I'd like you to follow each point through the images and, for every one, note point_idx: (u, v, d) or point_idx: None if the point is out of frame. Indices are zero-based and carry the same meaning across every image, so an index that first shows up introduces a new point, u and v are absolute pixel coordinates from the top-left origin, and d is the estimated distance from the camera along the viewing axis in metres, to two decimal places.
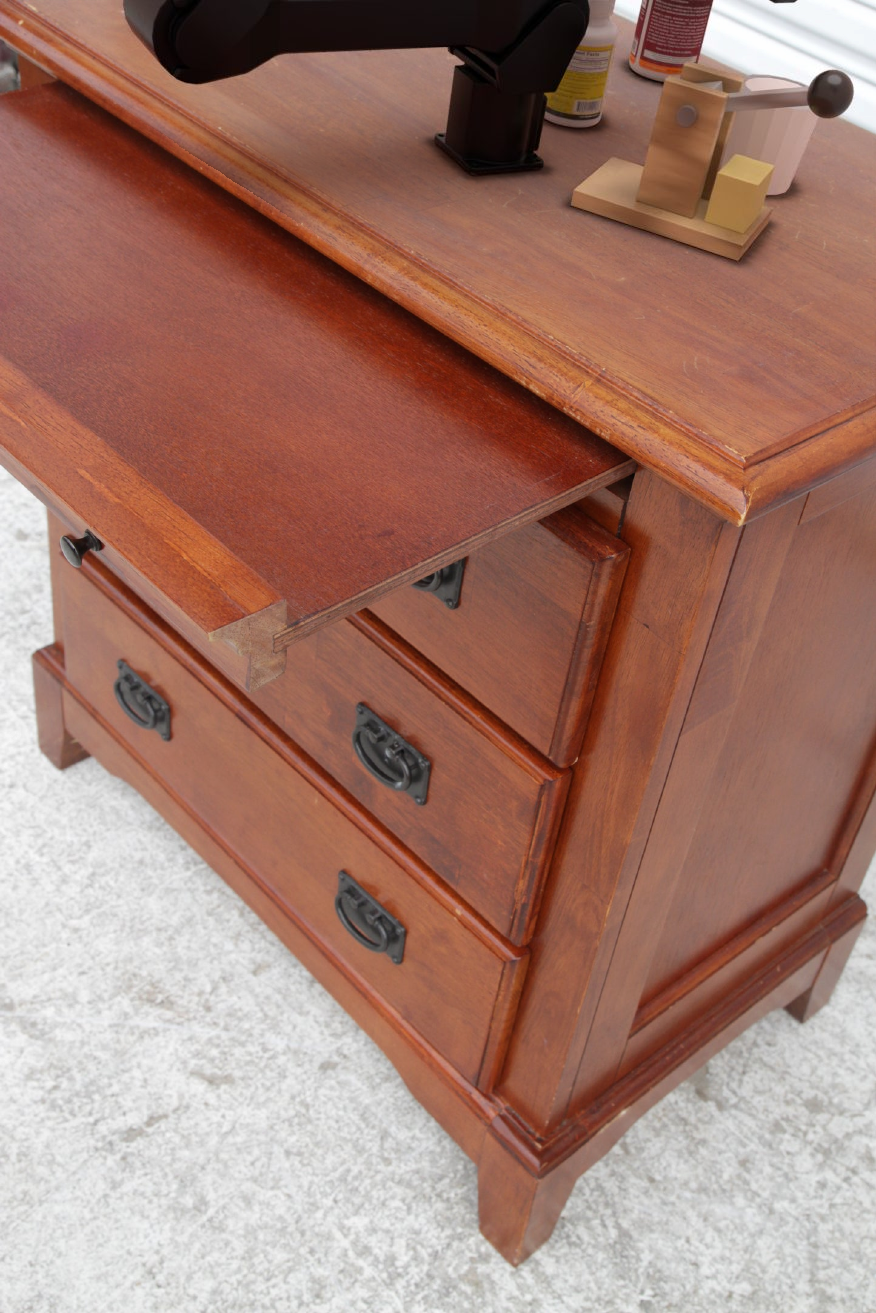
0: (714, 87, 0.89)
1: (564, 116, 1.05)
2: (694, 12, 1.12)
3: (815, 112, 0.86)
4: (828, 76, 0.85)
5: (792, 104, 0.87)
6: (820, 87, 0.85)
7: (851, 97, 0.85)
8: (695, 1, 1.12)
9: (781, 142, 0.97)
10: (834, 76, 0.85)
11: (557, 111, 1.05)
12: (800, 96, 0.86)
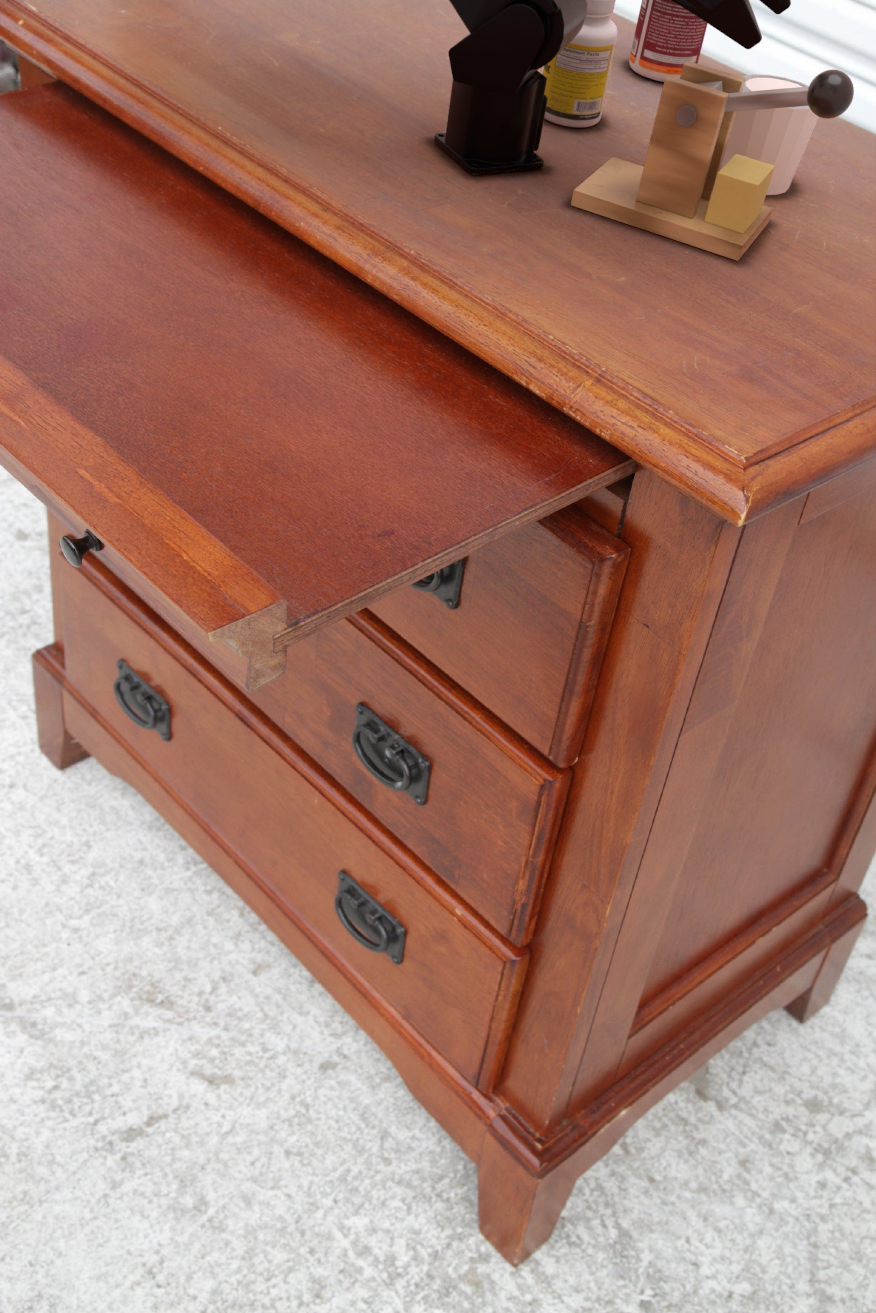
0: (714, 87, 0.89)
1: (564, 116, 1.05)
2: None
3: (815, 112, 0.86)
4: (828, 76, 0.85)
5: (792, 104, 0.87)
6: (820, 87, 0.85)
7: (851, 97, 0.85)
8: None
9: (781, 142, 0.97)
10: (834, 76, 0.85)
11: (557, 111, 1.05)
12: (800, 96, 0.86)
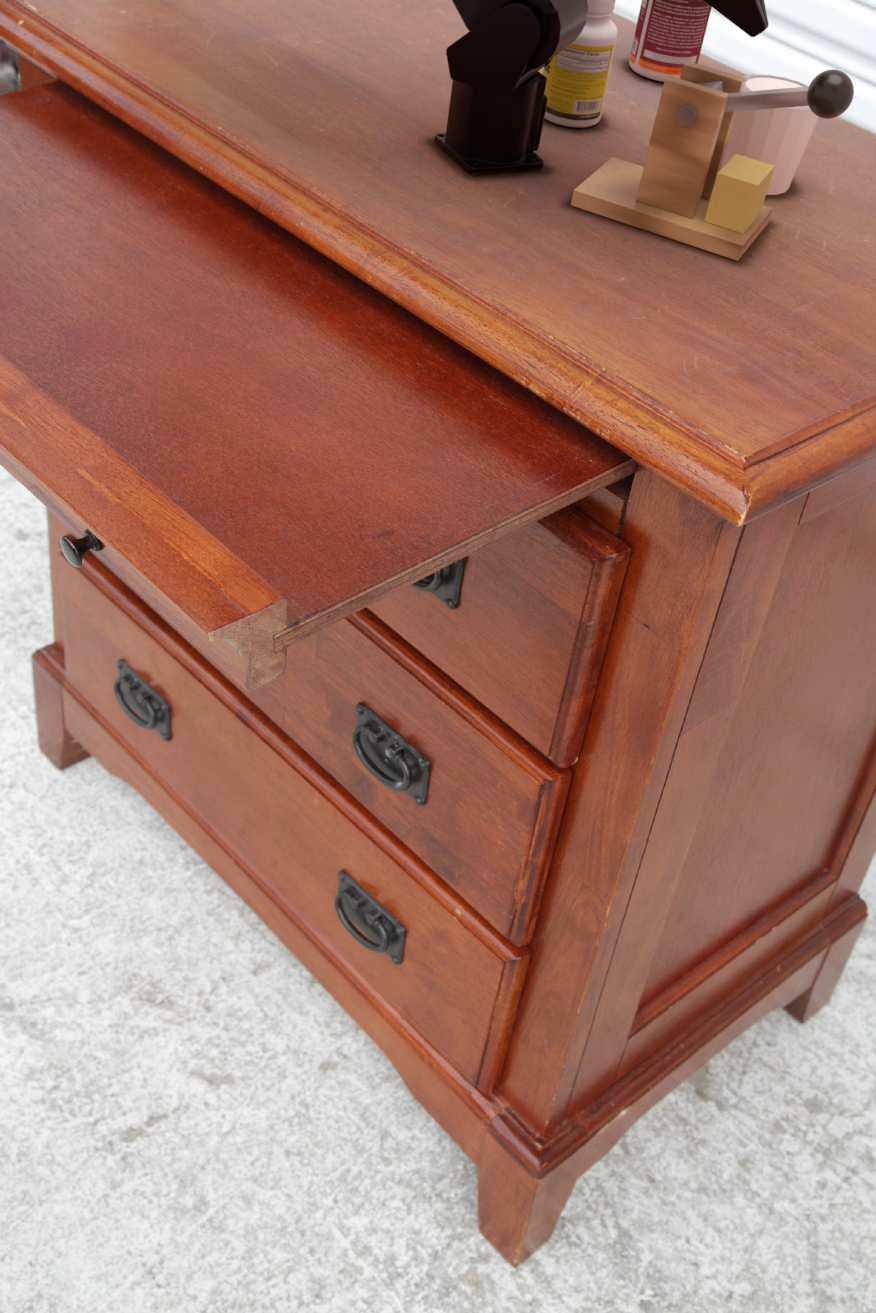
0: (714, 87, 0.89)
1: (564, 116, 1.05)
2: (694, 12, 1.12)
3: (815, 112, 0.86)
4: (828, 76, 0.85)
5: (792, 104, 0.87)
6: (820, 87, 0.85)
7: (851, 97, 0.85)
8: (695, 0, 1.12)
9: (781, 142, 0.97)
10: (834, 76, 0.85)
11: (557, 111, 1.05)
12: (800, 96, 0.86)
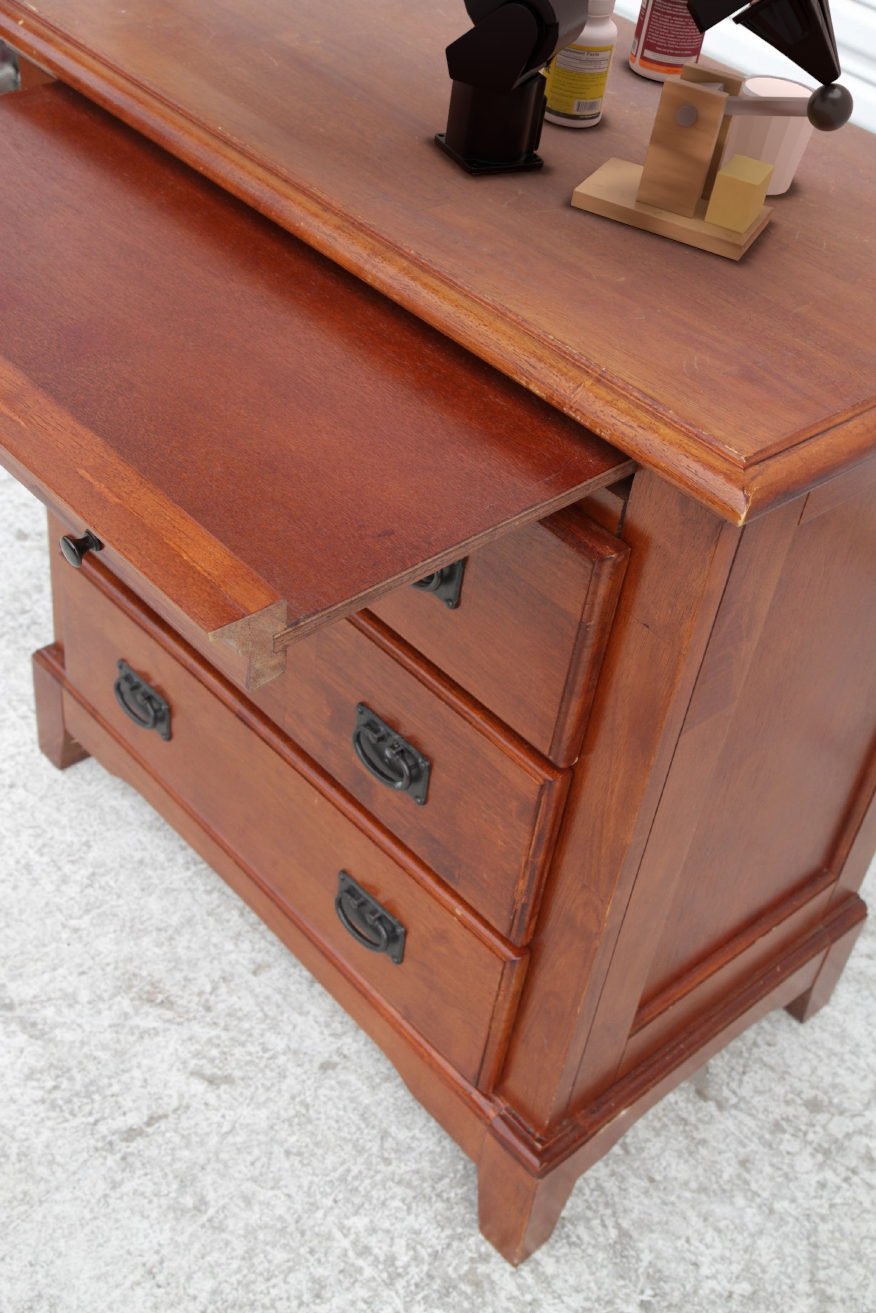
0: (716, 89, 0.89)
1: (564, 116, 1.05)
2: None
3: (813, 124, 0.87)
4: (829, 90, 0.85)
5: (791, 114, 0.87)
6: (821, 100, 0.85)
7: (850, 112, 0.86)
8: None
9: (781, 142, 0.97)
10: (836, 90, 0.85)
11: (557, 111, 1.05)
12: (800, 106, 0.87)
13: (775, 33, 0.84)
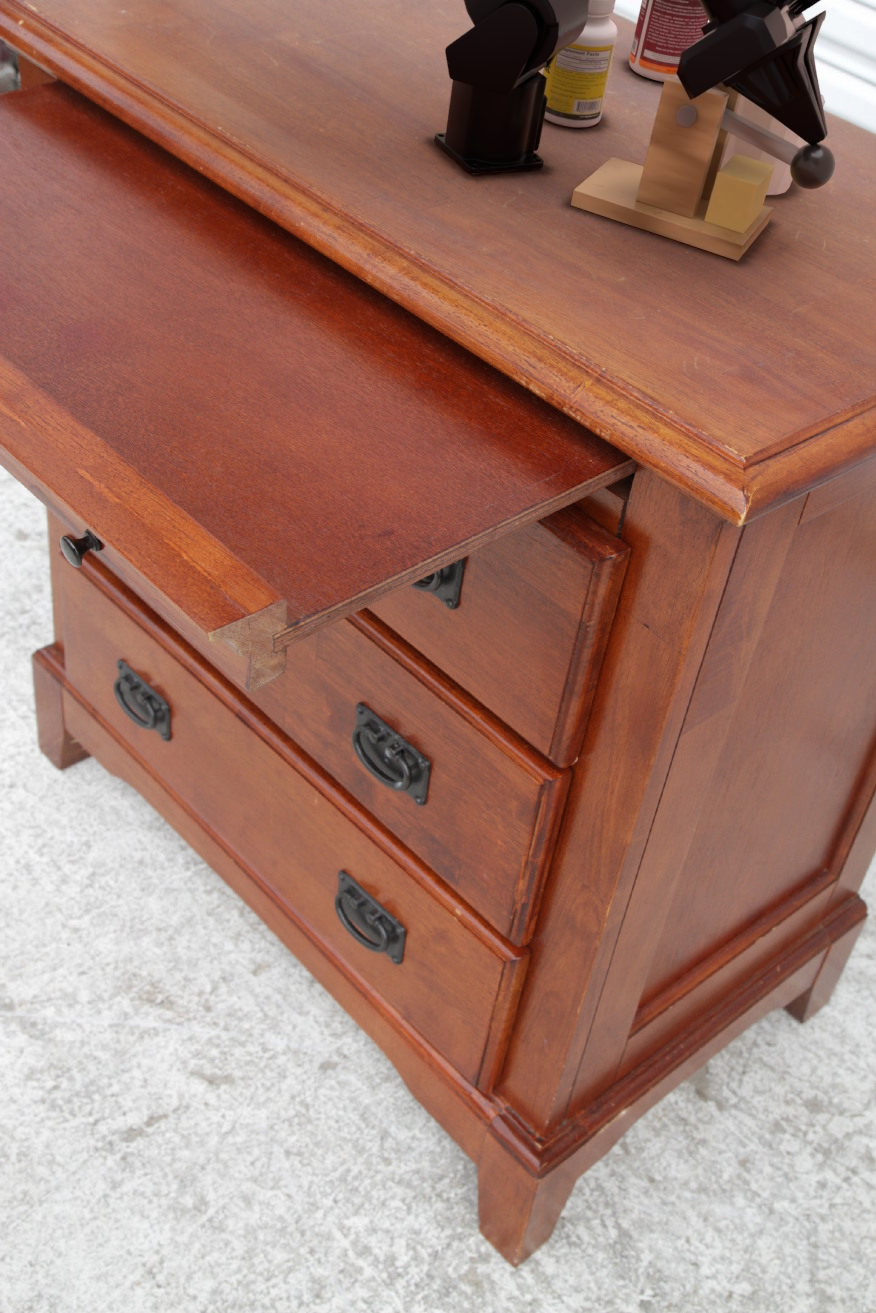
0: None
1: (564, 116, 1.05)
2: (694, 12, 1.12)
3: (793, 176, 0.89)
4: (820, 152, 0.88)
5: (778, 156, 0.89)
6: (809, 159, 0.88)
7: (828, 180, 0.89)
8: (695, 0, 1.12)
9: None
10: (825, 155, 0.88)
11: (557, 111, 1.05)
12: (788, 154, 0.89)
13: (763, 95, 0.86)
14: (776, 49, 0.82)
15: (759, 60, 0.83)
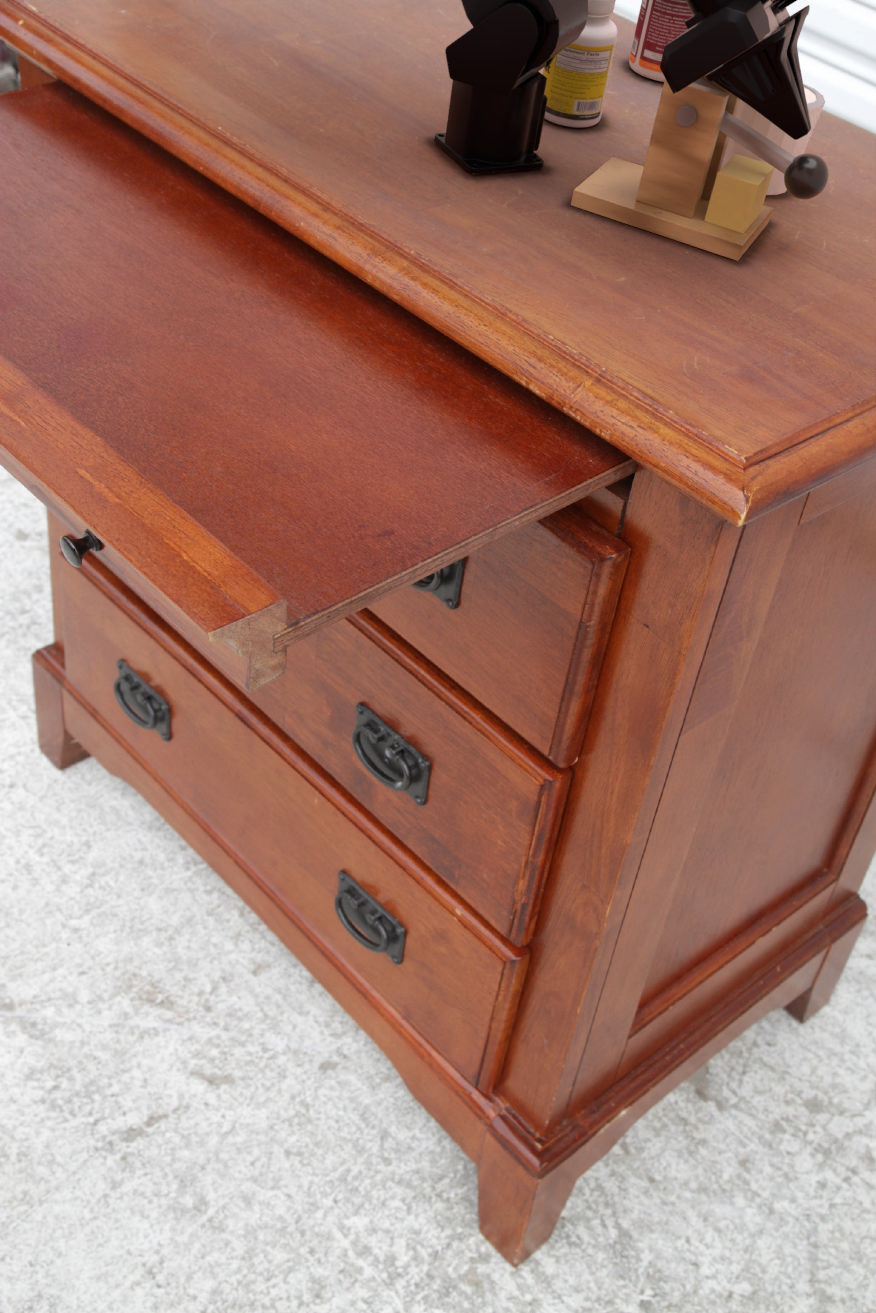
0: None
1: (564, 116, 1.05)
2: None
3: (786, 185, 0.90)
4: (815, 164, 0.88)
5: (773, 164, 0.90)
6: (804, 169, 0.88)
7: (820, 192, 0.90)
8: None
9: (781, 142, 0.97)
10: (820, 167, 0.88)
11: (557, 111, 1.05)
12: (783, 162, 0.89)
13: (747, 90, 0.87)
14: (759, 43, 0.83)
15: (742, 54, 0.84)
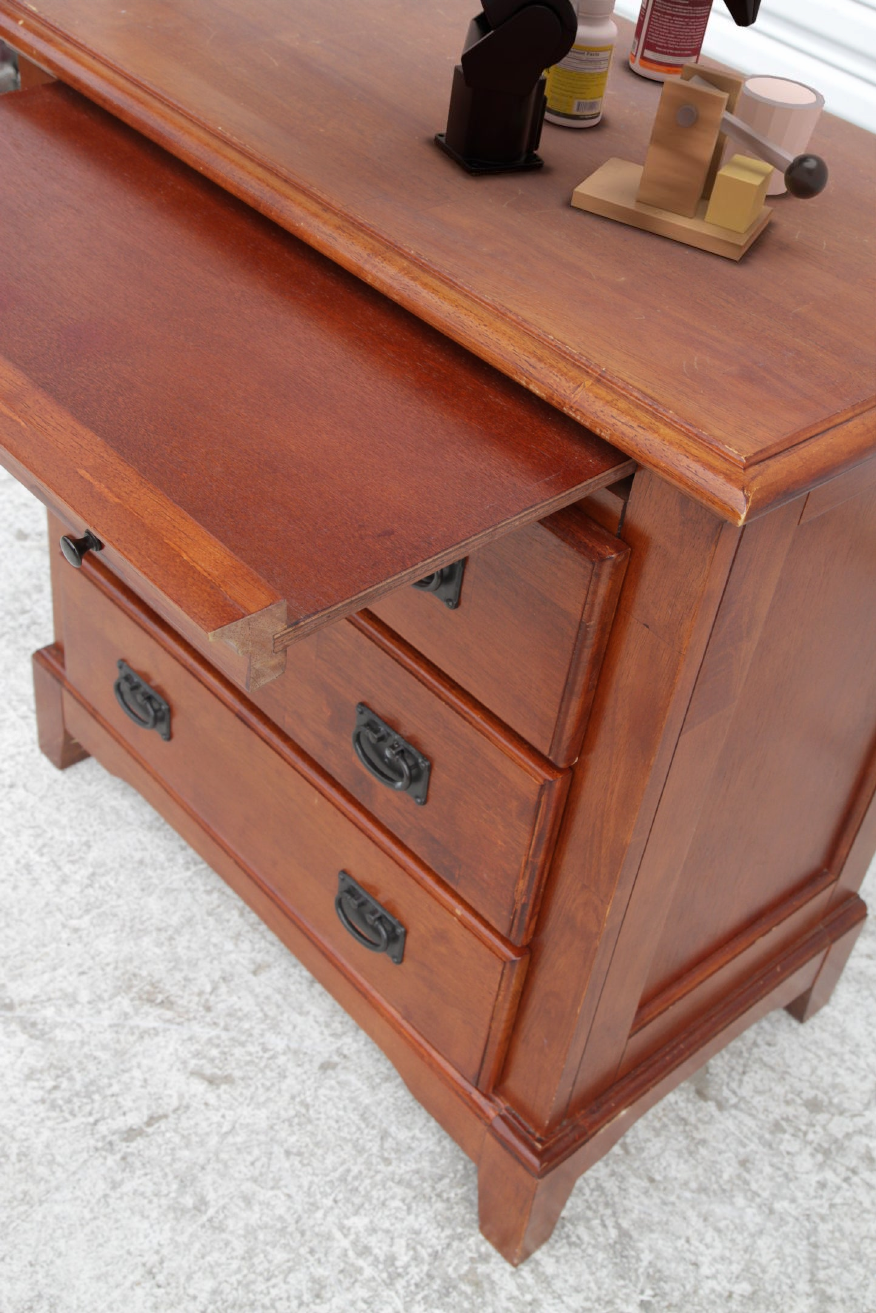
0: None
1: (564, 116, 1.05)
2: (694, 12, 1.12)
3: (786, 185, 0.90)
4: (815, 164, 0.88)
5: (773, 164, 0.90)
6: (804, 169, 0.88)
7: (820, 192, 0.90)
8: (695, 0, 1.12)
9: (781, 142, 0.97)
10: (820, 167, 0.88)
11: (557, 111, 1.05)
12: (783, 162, 0.89)
13: None
14: None
15: None
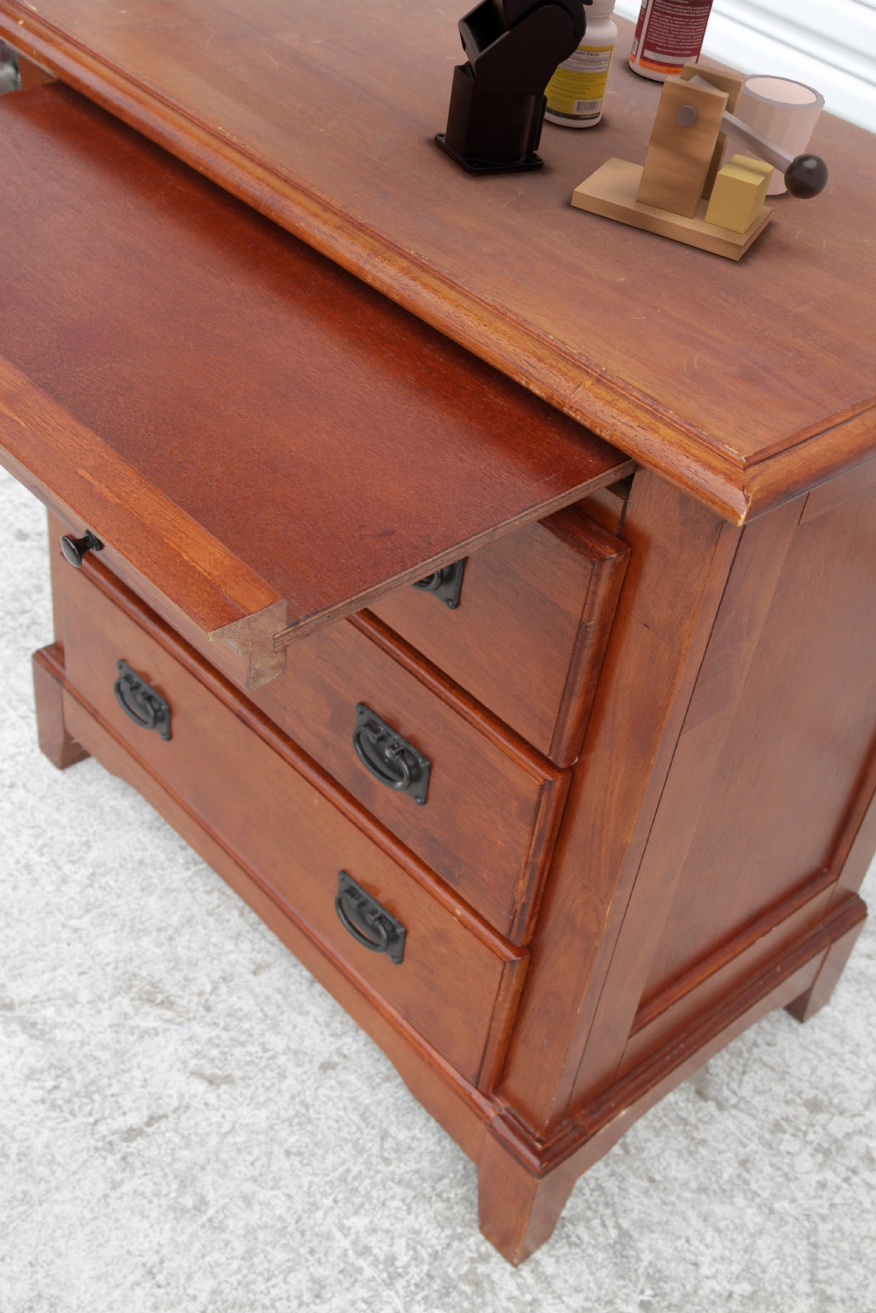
0: None
1: (564, 116, 1.05)
2: (694, 12, 1.12)
3: (786, 185, 0.90)
4: (815, 164, 0.88)
5: (773, 164, 0.90)
6: (804, 169, 0.88)
7: (820, 192, 0.90)
8: (695, 0, 1.12)
9: (781, 142, 0.97)
10: (820, 167, 0.88)
11: (557, 111, 1.05)
12: (783, 162, 0.89)
13: None
14: None
15: None
